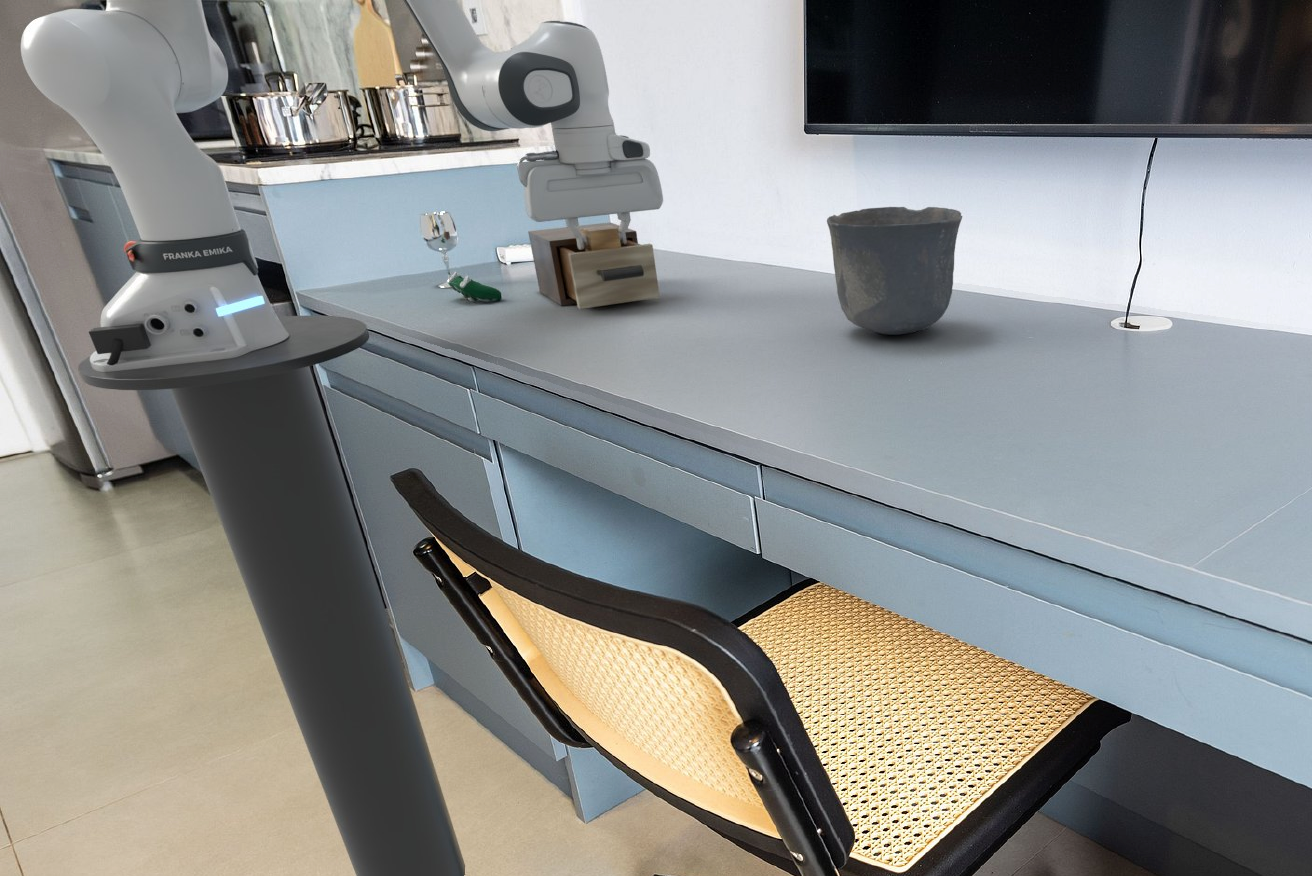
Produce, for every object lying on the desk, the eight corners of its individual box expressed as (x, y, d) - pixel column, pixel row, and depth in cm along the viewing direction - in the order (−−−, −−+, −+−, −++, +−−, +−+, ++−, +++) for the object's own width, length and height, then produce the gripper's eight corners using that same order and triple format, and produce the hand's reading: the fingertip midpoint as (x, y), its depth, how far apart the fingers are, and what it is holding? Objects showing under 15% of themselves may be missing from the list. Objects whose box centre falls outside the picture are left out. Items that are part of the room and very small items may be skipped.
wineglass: (462, 280, 181) (446, 210, 175) (473, 284, 177) (457, 212, 171) (429, 285, 177) (412, 213, 172) (440, 289, 173) (423, 216, 168)
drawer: (669, 301, 152) (662, 247, 149) (588, 313, 147) (578, 258, 143) (634, 285, 165) (626, 235, 162) (558, 295, 160) (548, 244, 156)
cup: (993, 331, 132) (995, 210, 125) (898, 358, 122) (894, 229, 115) (900, 312, 144) (897, 201, 137) (805, 336, 133) (797, 217, 126)
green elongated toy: (473, 306, 169) (441, 284, 164) (484, 287, 169) (453, 265, 165) (493, 314, 162) (460, 292, 158) (505, 294, 163) (473, 271, 158)
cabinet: (645, 293, 163) (636, 230, 159) (561, 305, 157) (549, 240, 153) (619, 281, 174) (610, 222, 169) (539, 292, 168) (527, 231, 163)
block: (594, 261, 151) (589, 231, 149) (586, 258, 154) (581, 228, 152) (622, 258, 153) (618, 227, 151) (614, 254, 156) (609, 224, 154)
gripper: (519, 154, 140) (539, 257, 146) (659, 143, 148) (672, 241, 155) (509, 152, 144) (529, 252, 151) (645, 142, 153) (658, 236, 160)
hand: (602, 246), depth 153 cm, fingers closed on block, 4 cm apart
